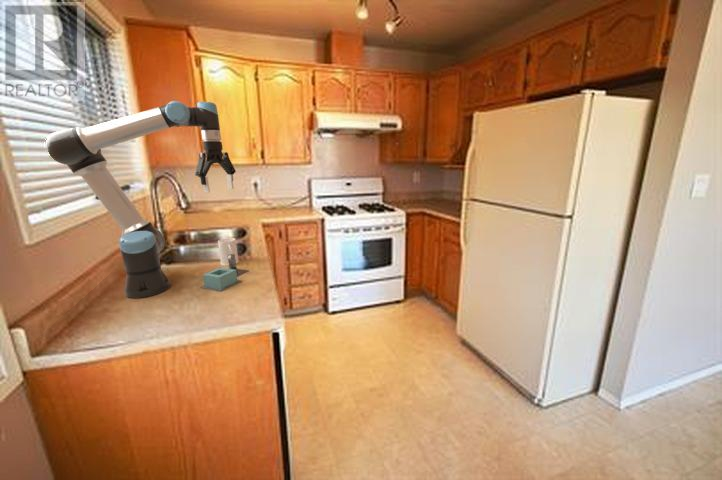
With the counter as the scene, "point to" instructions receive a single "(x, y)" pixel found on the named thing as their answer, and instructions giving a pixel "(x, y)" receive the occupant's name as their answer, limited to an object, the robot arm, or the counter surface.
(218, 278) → the teal square frame
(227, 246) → the mug
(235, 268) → the stand
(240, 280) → the coaster
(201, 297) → the counter surface
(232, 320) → the counter surface
